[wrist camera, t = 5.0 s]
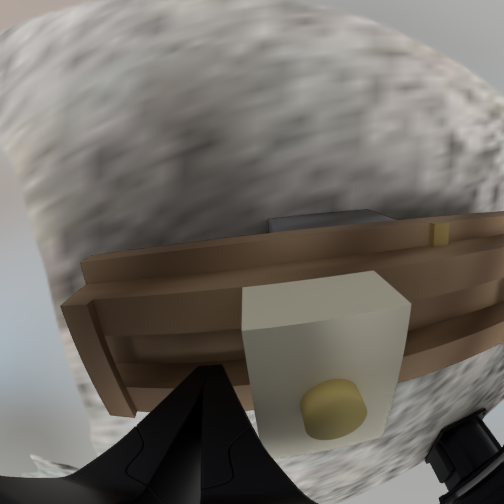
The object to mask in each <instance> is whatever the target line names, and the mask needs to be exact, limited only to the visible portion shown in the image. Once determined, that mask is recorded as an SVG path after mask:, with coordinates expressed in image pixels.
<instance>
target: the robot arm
mask: <svg viewBox="0 0 504 504" xmlns="http://www.w3.org/2000/svg"><path fill="white" fill-rule="evenodd" d="M486 412H487V410H486V409H485V408H484V409H482V410H480V411H478V412H476V413H475V414H473V415H471V416H469V417H467V418H465V419H463V420H461V421H459V422H457V423H455V424H453V425H451V426H448V427H446V428H444V429H443V430H442V431H441V432H440V434H439V436H438V438H437V440H436V442H435V444H434V446H433V447H432V449H431V451H430V453H429V454H428V456H427V458H426V459H425V462H426V463H430V464H431V466H432V468H433V470H434V472H435V474H436V476H437V478H438V480H439V482H440V483H445V485H446V487H447V489H448V491H449V492H447V493H446V494H445V495H442V496H441V497H439V501H440V504H504V445H503V447H501V446H500V444H499V443H498V441H497V440H496V438H495V437H494V436H493V434H492V433H491V431H490V430H489V429H488V427H487V426H486V425H485V423H484V422H483V421H482V419H483V418H484V416H485V414H486ZM0 504H318V503H316V502H314V501H313V500H311V499H310V498H309V497H307V496H306V495H305V494H304V493H303V492H302V491H301V490H300V489H299V488H298V487H297V486H296V485H295V484H294V483H293V482H292V481H291V480H290V478H289V477H288V476H287V475H286V474H285V473H284V472H283V470H282V469H281V468H280V467H279V466H278V464H277V463H276V462H275V461H274V460H273V458H272V457H271V456H270V454H269V453H268V452H267V450H266V449H265V447H264V446H263V444H262V442H261V441H260V439H259V437H258V436H257V434H256V432H255V430H254V428H253V426H252V424H251V422H250V420H249V418H248V416H247V414H246V412H245V410H244V408H243V406H242V404H241V402H240V400H239V398H238V396H237V394H236V392H235V390H234V388H233V386H232V383H231V381H230V379H229V377H228V375H227V373H226V370H225V368H224V366H223V365H222V364H212V365H198V366H197V367H196V368H195V369H194V370H193V371H192V372H191V373H190V374H189V375H188V376H187V377H186V378H185V379H184V380H183V381H182V382H181V383H180V384H179V385H178V386H177V387H176V388H175V389H174V390H173V391H172V392H171V393H170V394H169V395H168V396H167V397H166V398H165V399H164V400H162V401H161V402H160V403H159V404H158V405H157V406H156V407H155V408H154V409H153V410H152V411H151V412H150V413H149V414H148V415H147V416H146V417H145V418H144V419H143V420H142V421H141V422H140V423H138V424H137V427H134V428H133V429H132V430H131V431H130V432H129V433H128V434H127V435H125V436H124V437H123V438H122V439H121V440H120V441H118V442H117V443H116V444H115V445H113V446H112V447H111V448H110V449H108V450H107V451H106V452H104V453H103V454H101V455H100V456H99V457H97V458H96V459H94V460H93V461H91V462H90V463H89V464H87V465H86V466H84V467H83V468H81V469H80V470H78V471H77V472H75V473H73V474H71V475H68V476H65V477H60V478H22V477H7V476H0Z"/></svg>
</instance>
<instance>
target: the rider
mask: <svg viewBox="0 0 504 504" xmlns="http://www.w3.org/2000/svg"><path fill="white" fill-rule="evenodd" d="M410 311H411V303H410V302H409V301H408V300H407V299H406V298H404V297H403V296H402V295H401V294H400V293H399V292H398V291H397V290H396V289H394V288H393V287H392V286H391V285H390V284H389V283H388V282H386V281H385V280H384V279H383V278H382V277H381V276H379V275H378V274H377V273H376V272H375V271H374V270H373V271H366V272H359V273H352V274H345V275H338V276H331V277H323V278H316V279H308V280H300V281H292V282H284V283H276V284H267V285H259V286H250V287H242V337H243V343H244V350H245V356H246V362H247V369H248V375H249V381H250V387H251V393H252V399H253V405H254V410H255V416H256V422H257V428H258V433H259V439H260V441H261V442H262V444H263V446H264V447H265V449H266V450H267V452H268V453H269V454H270V456H271V457H272V458H273V459H275V458H284V457H292V456H299V455H305V454H312V453H317V452H323V451H328V450H333V449H337V448H342V447H346V446H351V445H355V444H359V443H363V442H366V441H370V440H374V439H377V438H380V437H382V435H383V432H384V429H385V425H386V422H387V419H388V416H389V412H390V409H391V405H392V401H393V398H394V394H395V390H396V386H397V382H398V377H399V373H400V368H401V364H402V359H403V354H404V349H405V343H406V338H407V332H408V325H409V319H410Z"/></svg>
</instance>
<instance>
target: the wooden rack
mask: <svg viewBox="0 0 504 504" xmlns="http://www.w3.org/2000/svg"><path fill="white" fill-rule="evenodd" d="M268 224H269V233H265V234H256V235H247V236H238V237H230V238H221V239H213V240H205V241H197V242H189V243H181V244H173V245H165V246H157V247H149V248H142V249H134V250H127V251H119V252H112V253H105V254H98V255H91V256H90V257H88V258H87V259H85V260H84V261H82V262H81V263H80V264H81V268H82V272H83V275H84V279H85V282H86V285H85V286H83V287H82V288H81V289H80V290H79V291H77V292H76V293H75V294H74V295H73V296H71V297H70V298H69V299H68V300H67V301H65V302H64V303H63V304H62V305H61V309H62V312H63V315H64V318H65V320H66V323H67V326H68V328H69V331H70V333H71V336H72V338H73V341H74V343H75V346H76V348H77V350H78V353H79V355H80V357H81V359H82V362H83V364H84V366H85V368H86V370H87V372H88V374H89V376H90V379H91V381H92V383H93V385H94V386H95V388H96V390H97V392H98V394H99V396H100V398H101V400H102V402H103V403H104V405H105V407H106V409H107V411H108V412H109V414H110V415H112V416H121V417H132V418H135V416H136V413H137V411H141V412H151V411H152V410H153V409H154V408H155V407H156V406H157V405H158V404H159V403H160V402H161V401H162V400H164V399H165V398H166V397H167V396H168V395H169V394H170V393H171V392H172V391H173V390H174V389H175V388H176V387H177V386H178V385H179V384H180V383H181V382H182V381H183V380H184V379H185V378H186V377H187V376H188V375H189V374H190V373H191V372H192V371H193V370H194V369H195V368H196V367H197V366H198V365H212V364H222V365H223V366H224V368H225V370H226V373H227V375H228V377H229V379H230V381H231V383H232V386H233V388H234V390H235V392H236V394H237V396H238V398H239V400H240V402H241V404H242V406H243V408H244V410H245V411H249V410H254V405H253V399H252V393H251V387H250V381H249V375H248V369H247V362H246V356H245V350H244V343H243V337H242V287H250V286H259V285H267V284H276V283H284V282H292V281H300V280H308V279H316V278H323V277H331V276H338V275H345V274H352V273H359V272H366V271H373V270H374V271H375V272H376V273H377V274H378V275H379V276H381V277H382V278H383V279H384V280H385V281H386V282H388V283H389V284H390V285H391V286H392V287H393V288H394V289H396V290H397V291H398V292H399V293H400V294H401V295H402V296H403V297H404V298H406V299H407V300H408V301H409V302H410V303H411V311H410V319H409V325H408V332H407V338H406V343H405V349H404V354H403V359H402V364H401V368H400V373H399V377H398V382H397V383H400V382H403V381H407V380H410V379H413V378H416V377H419V376H422V375H425V374H428V373H431V372H434V371H437V370H439V369H442V368H445V367H447V366H450V365H453V364H455V363H458V362H460V361H463V360H465V359H467V358H470V357H472V356H474V355H477V354H479V353H481V352H483V351H486V350H488V349H490V348H492V347H494V346H496V345H498V344H500V343H502V342H504V211H500V212H487V213H473V214H460V215H448V216H436V217H424V218H413V219H402V220H395V219H392V218H389V217H387V216H384V215H382V214H379V213H376V212H373V211H371V210H368V209H366V210H354V211H342V212H331V213H321V214H310V215H300V216H291V217H281V218H272V219H268Z"/></svg>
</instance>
